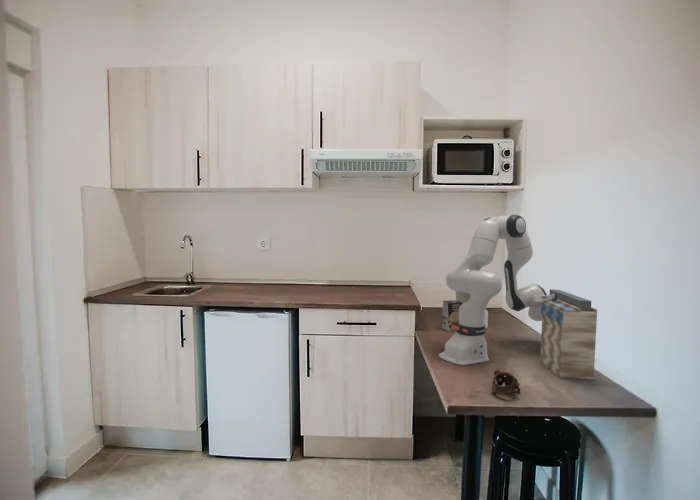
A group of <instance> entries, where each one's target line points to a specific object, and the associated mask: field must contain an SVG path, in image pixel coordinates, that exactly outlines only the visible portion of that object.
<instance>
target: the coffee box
mask: <svg viewBox="0 0 700 500" xmlns="http://www.w3.org/2000/svg"><path fill="white" fill-rule="evenodd" d="M462 304H463V302H460V301H457V300H456V299H454V300H443V301H442V320H441V328H442V329H443V330H445V331H447V332H451V331H453V332H454V331H455V332H456V330H453V329H452V326H453V325H455V326H457V325H458V323H459V308H460V306H461V305H462Z"/></svg>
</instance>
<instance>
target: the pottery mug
mask: <svg viewBox="0 0 700 500" xmlns="http://www.w3.org/2000/svg"><path fill="white" fill-rule="evenodd" d="M493 374H494V375H493V376H492V389H491V390H492V393H494V392H495V393H496V394H500V395H501V394H504V395H507V394H511V393H513V392H515V393H519V392H520V393H521V387H520V386H521V385H520V383H519V382H518V381H519V380H518V379H517V378H516V377H515V376H514V375H513V374H512V373H511V372H508V371H501V370H499V369H496V370H494V372H493ZM503 384H504V385H503ZM516 389H517V390H518V391H519V392H518V391H517V390H516Z"/></svg>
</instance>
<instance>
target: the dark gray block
mask: <svg viewBox="0 0 700 500" xmlns="http://www.w3.org/2000/svg"><path fill="white" fill-rule="evenodd" d="M552 294H556V296H557V298H556V299H553V300H555V301H556V300H561V301H563V302H566V303H568V304H570V305H573V306H575V307H578V308H580V309H582V311H591V307H592V300H589V299H588V298H587V299H586V298H583V297H581V296H578V295H575V294H572V293H569V292H567V291H564V290H561V289H553V288H552V289H551V288H550V289H549V295H552Z"/></svg>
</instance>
